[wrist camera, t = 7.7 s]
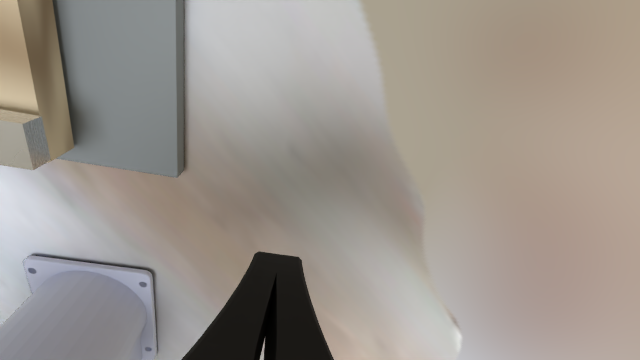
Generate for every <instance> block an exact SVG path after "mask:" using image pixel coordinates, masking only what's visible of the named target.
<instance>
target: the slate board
mask: <svg viewBox="0 0 640 360" xmlns="http://www.w3.org/2000/svg"><path fill="white" fill-rule="evenodd" d="M52 2H53V9H54V15H55V22H56V29H57V35H58V42H59V49H60V55H61V62H62V69H63V76H64V82H65V89H66V96H67V102H68V109H69V116H70V122H71V129H72V136H73V142H74V148H73V149H71V150H70V151H68V152H66V153H64V154H63V155H61V156H59V157H57V158H56V159H62V160H69V161H75V162H81V163H87V164H94V165H100V166H106V167H113V168H119V169H125V170H131V171H138V172H144V173H150V174H157V175H163V176H169V177H175V178H178V176H179V175H180V174H181V173H182V172H183V170H184V0H52Z"/></svg>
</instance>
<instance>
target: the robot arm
mask: <svg viewBox="0 0 640 360" xmlns="http://www.w3.org/2000/svg"><path fill="white" fill-rule="evenodd" d="M23 266H24V269H25V272H26V276H27V279H28V282H29V285H30V289H31V292H32V295H31V296H30V297H29V298H28V299H27V300H26V301H25V302H24V303H23V304H22V305H21V306H20V307H19V308H18V309H17V310H16V311H15V312H14V313H13V314H12V315H11V316H10V317H9V318H8V319H7V320H6V321H5V322H4V323H3V324H2V325H1V326H0V360H154V359H155V358H156V356H157V341H156V324H155V308H154V291H153V276H152V274H151V273H150V272H149V271H147V270H141V269H134V268H126V267H118V266H110V265H102V264H95V263H87V262H79V261H71V260H63V259H55V258H48V257H40V256H28V257H27V258H26V259H24V260H23ZM144 282H145V283H144ZM264 339H265V350H264V360H334V359H333V357H332V355H331V352H330V350H329V348H328V345H327V343H326V340H325V338H324V336H323V333H322V331H321V328H320V325H319V323H318V320H317V317H316V314H315V311H314V308H313V305H312V302H311V299H310V296H309V293H308V289H307V285H306V281H305V277H304V273H303V267H302V260H301V259H300V258H299V257H294V256H287V255H280V254H272V253H265V252H257V253H256V254H254V257H253V260H252V262H251V264H250V266H249V268H248V270H247V272H246V273H245V275H244V277H243V278H242V280H241V282H240V283H239V285H238V287H237V288H236V290H235V291H234V293H233V294H232V296H231V297H230V299H229V300H228V302H227V303H226V305H225V306H224V307H223V309H222V310H221V311H220V313H219V314H218V315H217V317H216V318H215V319H214V321H213V322H212V323H211V325H210V326H209V327H208V328H207V330H206V331H205V332H204V334H203V335H202V336H201V337H200V339H199V340H198V341H197V342H196V343H195V345H194V346H193V347H192V348H191V349H190V351H189V352H188V353H187V354H186V355H185V356H184V357H183V359H182V360H259V359H260V355H261V351H262V347H263V343H264Z"/></svg>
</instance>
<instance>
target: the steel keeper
mask: <svg viewBox="0 0 640 360" xmlns="http://www.w3.org/2000/svg"><path fill="white" fill-rule="evenodd" d="M50 160H51V158H50V153H49V148H48V144H47V139H46V134H45V129H44V125H43V120H42V116H37V115H31V114H25V113H19V112H14V111H8V110H2V109H0V165H4V166H10V167H17V168H23V169H30V170H34V169H36V168H38V167H40V166H41V165H43V164H45V163H47V162H48V161H50Z"/></svg>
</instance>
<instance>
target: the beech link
mask: <svg viewBox="0 0 640 360" xmlns="http://www.w3.org/2000/svg"><path fill="white" fill-rule="evenodd" d="M0 109H2V110H8V111H14V112H19V113H25V114H31V115H37V116H42V120H43V125H44V129H45V134H46V139H47V144H48V148H49V153H50V158H51V160H50V161H52V160H54V159H56V158H57V157H59V156H61V155H63V154H64V153H66V152H68V151H70V150H71V149H73V148H74V142H73V136H72V129H71V122H70V116H69V109H68V102H67V96H66V89H65V82H64V76H63V69H62V62H61V55H60V49H59V42H58V35H57V29H56V22H55V15H54V9H53V2H52V0H0ZM50 161H48V163H49V162H50Z"/></svg>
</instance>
